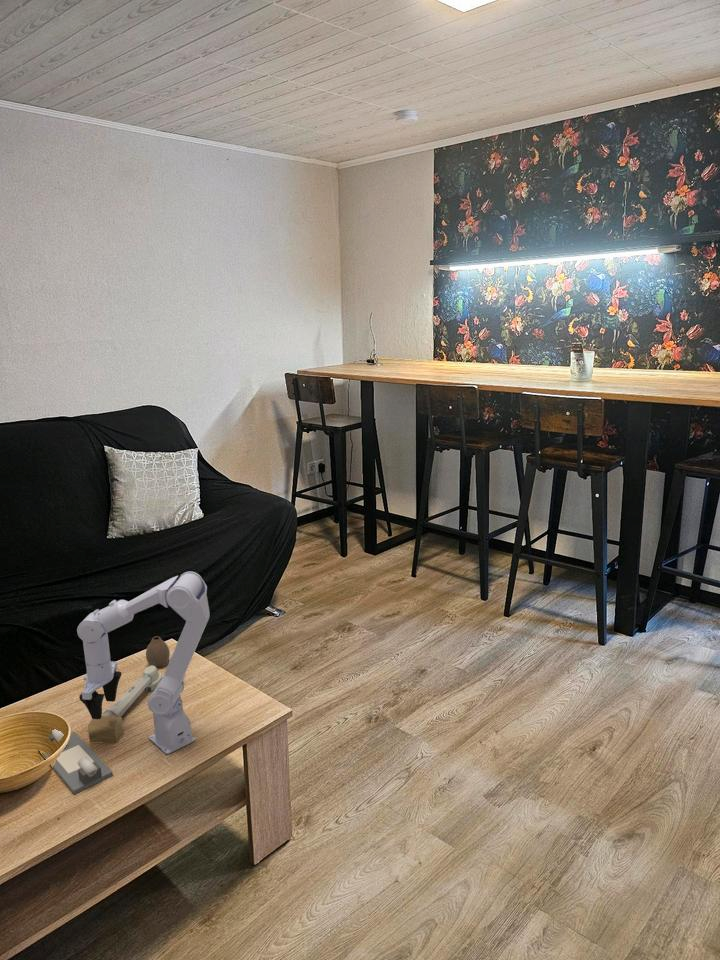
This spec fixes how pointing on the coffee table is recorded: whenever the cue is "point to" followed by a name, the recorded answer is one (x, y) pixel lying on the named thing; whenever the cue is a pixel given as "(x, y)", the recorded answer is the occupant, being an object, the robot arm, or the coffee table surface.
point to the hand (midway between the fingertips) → (104, 709)
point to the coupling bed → (75, 775)
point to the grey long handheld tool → (135, 691)
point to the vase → (157, 652)
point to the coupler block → (105, 729)
